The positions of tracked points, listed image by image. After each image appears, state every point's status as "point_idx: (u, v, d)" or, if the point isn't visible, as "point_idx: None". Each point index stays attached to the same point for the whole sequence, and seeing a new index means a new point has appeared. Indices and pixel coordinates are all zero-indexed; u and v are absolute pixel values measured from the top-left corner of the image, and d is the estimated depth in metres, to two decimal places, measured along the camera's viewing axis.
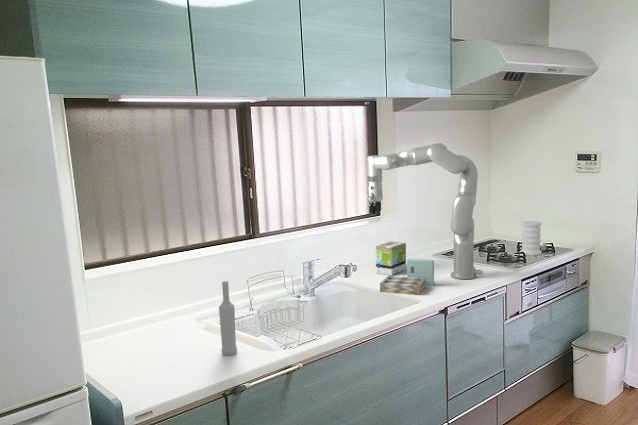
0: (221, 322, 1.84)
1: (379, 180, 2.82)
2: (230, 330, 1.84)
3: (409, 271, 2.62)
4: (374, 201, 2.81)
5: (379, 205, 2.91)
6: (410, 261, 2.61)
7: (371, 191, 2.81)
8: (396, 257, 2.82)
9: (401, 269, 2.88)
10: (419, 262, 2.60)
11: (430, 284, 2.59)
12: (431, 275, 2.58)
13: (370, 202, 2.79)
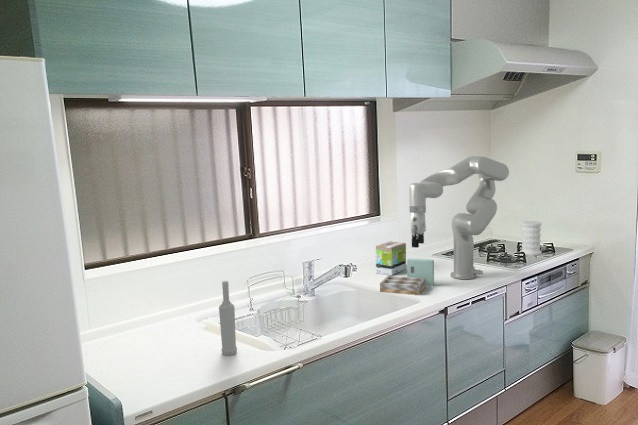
0: (221, 322, 1.84)
1: (423, 211, 2.56)
2: (230, 330, 1.84)
3: (409, 271, 2.62)
4: (417, 234, 2.56)
5: (422, 237, 2.65)
6: (410, 261, 2.61)
7: (414, 223, 2.55)
8: (396, 257, 2.82)
9: (401, 269, 2.88)
10: (419, 262, 2.60)
11: (430, 284, 2.59)
12: (431, 275, 2.58)
13: (413, 235, 2.54)
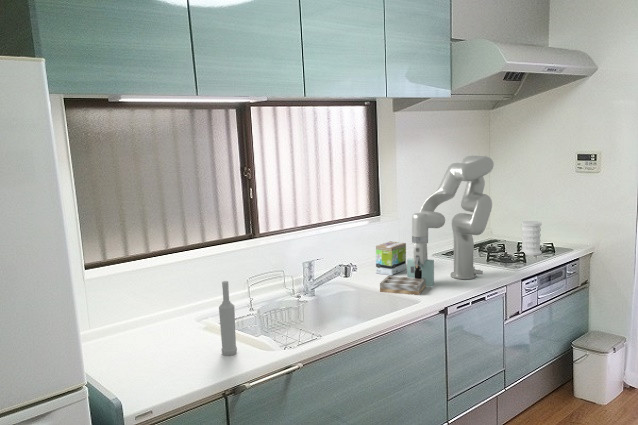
0: (221, 322, 1.84)
1: (425, 241, 2.56)
2: (230, 330, 1.84)
3: (409, 271, 2.62)
4: (420, 265, 2.57)
5: None
6: (410, 261, 2.61)
7: (417, 253, 2.56)
8: (396, 257, 2.82)
9: (401, 269, 2.88)
10: None
11: (430, 284, 2.59)
12: (431, 275, 2.58)
13: (416, 267, 2.55)
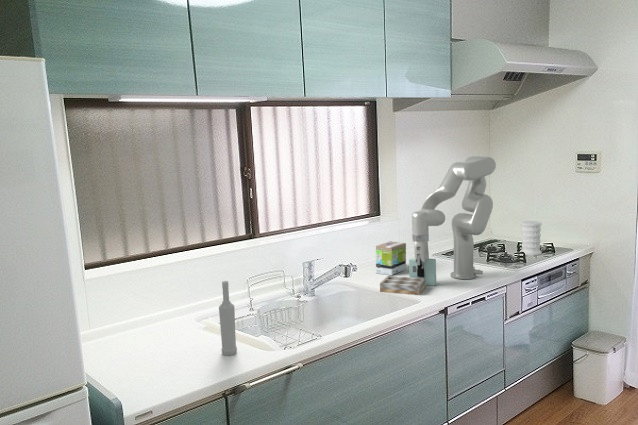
0: (221, 322, 1.84)
1: (426, 239, 2.57)
2: (230, 330, 1.84)
3: (411, 270, 2.62)
4: (422, 264, 2.58)
5: None
6: (412, 261, 2.61)
7: (417, 252, 2.56)
8: (396, 257, 2.82)
9: (401, 269, 2.88)
10: (421, 261, 2.60)
11: (432, 283, 2.59)
12: (433, 274, 2.58)
13: (418, 266, 2.57)
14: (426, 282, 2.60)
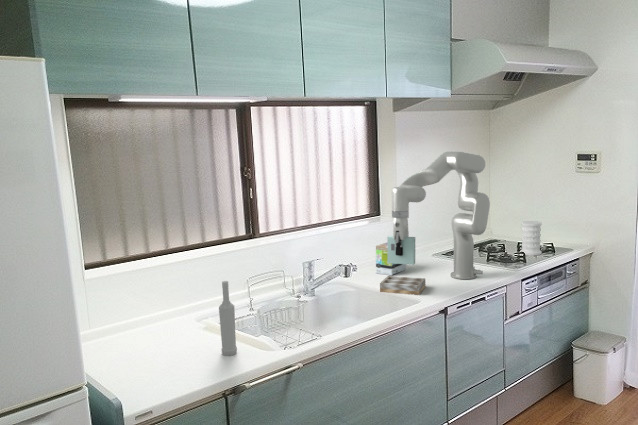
0: (221, 322, 1.84)
1: (406, 216, 2.45)
2: (230, 330, 1.84)
3: (389, 248, 2.50)
4: (401, 242, 2.46)
5: None
6: (390, 238, 2.49)
7: (396, 228, 2.44)
8: None
9: (401, 269, 2.88)
10: (399, 239, 2.48)
11: (411, 262, 2.47)
12: (412, 253, 2.46)
13: (397, 243, 2.45)
14: (404, 261, 2.48)
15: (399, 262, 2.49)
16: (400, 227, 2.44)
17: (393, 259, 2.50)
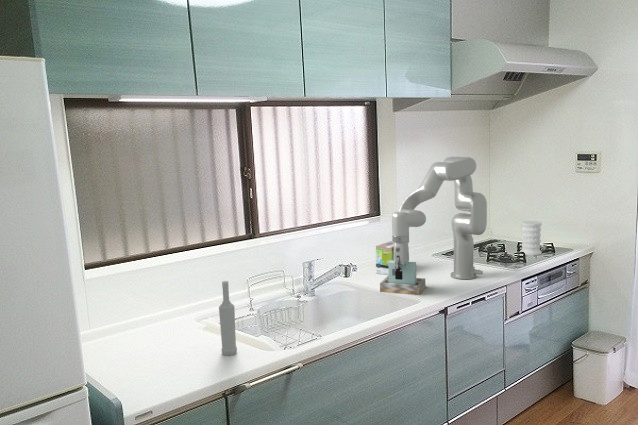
0: (221, 322, 1.84)
1: (406, 241, 2.47)
2: (230, 330, 1.84)
3: (390, 274, 2.52)
4: (401, 265, 2.47)
5: None
6: (391, 263, 2.51)
7: (397, 253, 2.46)
8: None
9: None
10: None
11: None
12: (413, 278, 2.48)
13: (396, 267, 2.45)
14: None
15: None
16: (401, 252, 2.45)
17: None
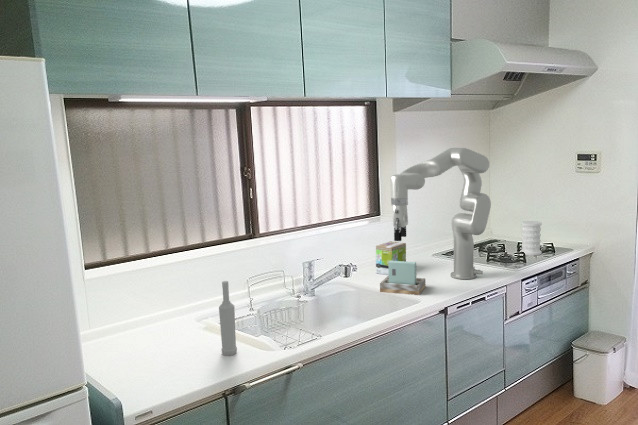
0: (221, 322, 1.84)
1: (405, 203, 2.47)
2: (230, 330, 1.84)
3: (390, 274, 2.52)
4: (400, 227, 2.47)
5: (404, 230, 2.56)
6: (391, 263, 2.51)
7: (396, 216, 2.47)
8: (396, 257, 2.82)
9: None
10: (400, 264, 2.50)
11: None
12: (413, 278, 2.48)
13: (395, 228, 2.45)
14: None
15: None
16: (400, 214, 2.46)
17: None
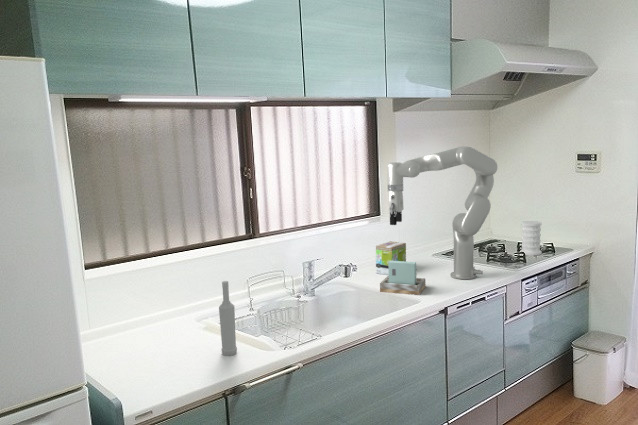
0: (221, 322, 1.84)
1: (400, 189, 2.63)
2: (230, 330, 1.84)
3: (390, 274, 2.52)
4: (395, 211, 2.62)
5: (400, 215, 2.72)
6: (391, 263, 2.51)
7: (392, 201, 2.62)
8: (396, 257, 2.82)
9: None
10: (400, 264, 2.50)
11: None
12: (413, 278, 2.48)
13: (391, 213, 2.60)
14: None
15: None
16: (395, 200, 2.62)
17: None
